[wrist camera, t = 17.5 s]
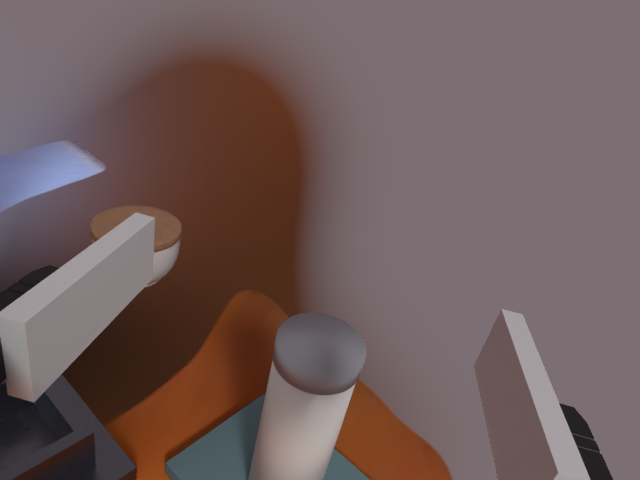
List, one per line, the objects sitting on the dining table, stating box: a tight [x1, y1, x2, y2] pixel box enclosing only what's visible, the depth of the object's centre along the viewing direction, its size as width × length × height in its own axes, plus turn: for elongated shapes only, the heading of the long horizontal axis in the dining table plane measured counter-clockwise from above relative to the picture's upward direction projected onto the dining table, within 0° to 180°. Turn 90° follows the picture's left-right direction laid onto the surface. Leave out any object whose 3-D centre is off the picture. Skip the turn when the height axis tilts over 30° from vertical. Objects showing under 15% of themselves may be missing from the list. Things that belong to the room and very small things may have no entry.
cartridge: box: [248, 313, 366, 480], centre depth 34 cm, size 6×6×16 cm
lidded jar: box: [90, 206, 182, 288], centre depth 58 cm, size 11×11×9 cm
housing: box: [0, 374, 137, 480], centre depth 34 cm, size 14×14×6 cm
